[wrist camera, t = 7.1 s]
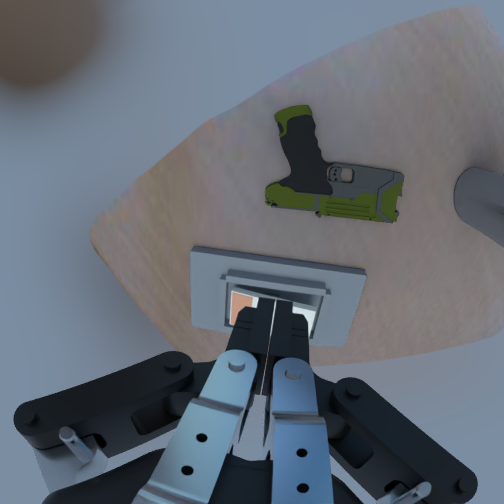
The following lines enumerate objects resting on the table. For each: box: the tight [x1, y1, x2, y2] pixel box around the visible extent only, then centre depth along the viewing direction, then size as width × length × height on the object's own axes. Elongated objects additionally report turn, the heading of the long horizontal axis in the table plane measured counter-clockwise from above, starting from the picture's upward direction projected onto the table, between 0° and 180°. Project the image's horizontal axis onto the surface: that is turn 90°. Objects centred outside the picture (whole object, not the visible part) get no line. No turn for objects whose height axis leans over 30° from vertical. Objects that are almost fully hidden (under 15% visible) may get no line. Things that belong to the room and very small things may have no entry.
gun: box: [265, 105, 404, 223], centre depth 33 cm, size 2×19×15 cm
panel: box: [190, 246, 367, 348], centre depth 41 cm, size 26×14×4 cm, turn 85°
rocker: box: [230, 287, 317, 336], centre depth 38 cm, size 12×6×1 cm, turn 86°
